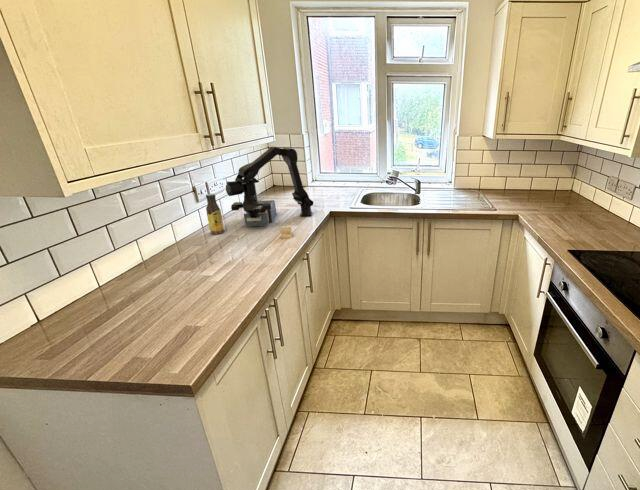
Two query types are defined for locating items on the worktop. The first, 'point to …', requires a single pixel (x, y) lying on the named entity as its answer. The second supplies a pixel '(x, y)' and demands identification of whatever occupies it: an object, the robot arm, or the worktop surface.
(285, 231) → the block
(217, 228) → the sauce bottle
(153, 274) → the worktop surface
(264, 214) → the drawer
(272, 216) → the cabinet
